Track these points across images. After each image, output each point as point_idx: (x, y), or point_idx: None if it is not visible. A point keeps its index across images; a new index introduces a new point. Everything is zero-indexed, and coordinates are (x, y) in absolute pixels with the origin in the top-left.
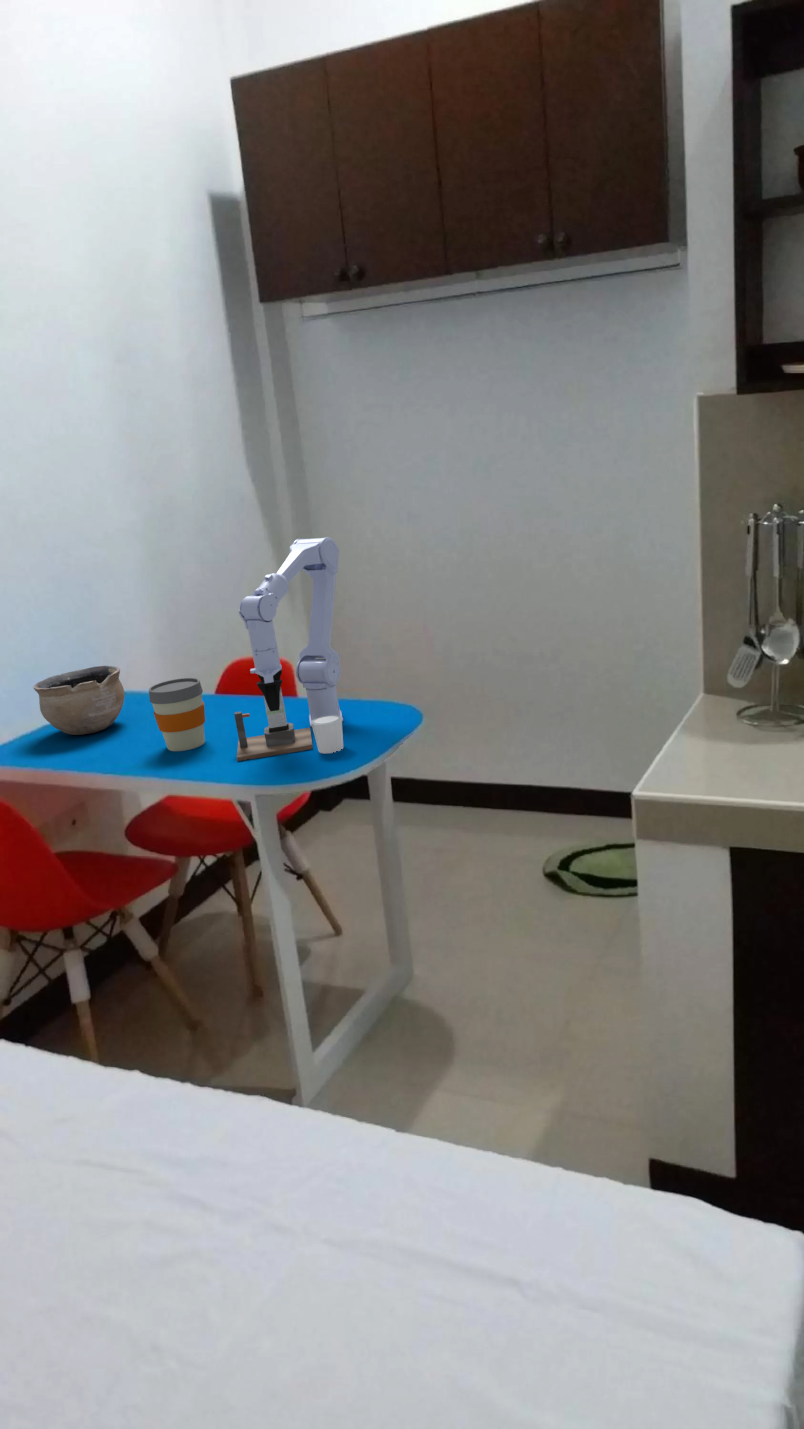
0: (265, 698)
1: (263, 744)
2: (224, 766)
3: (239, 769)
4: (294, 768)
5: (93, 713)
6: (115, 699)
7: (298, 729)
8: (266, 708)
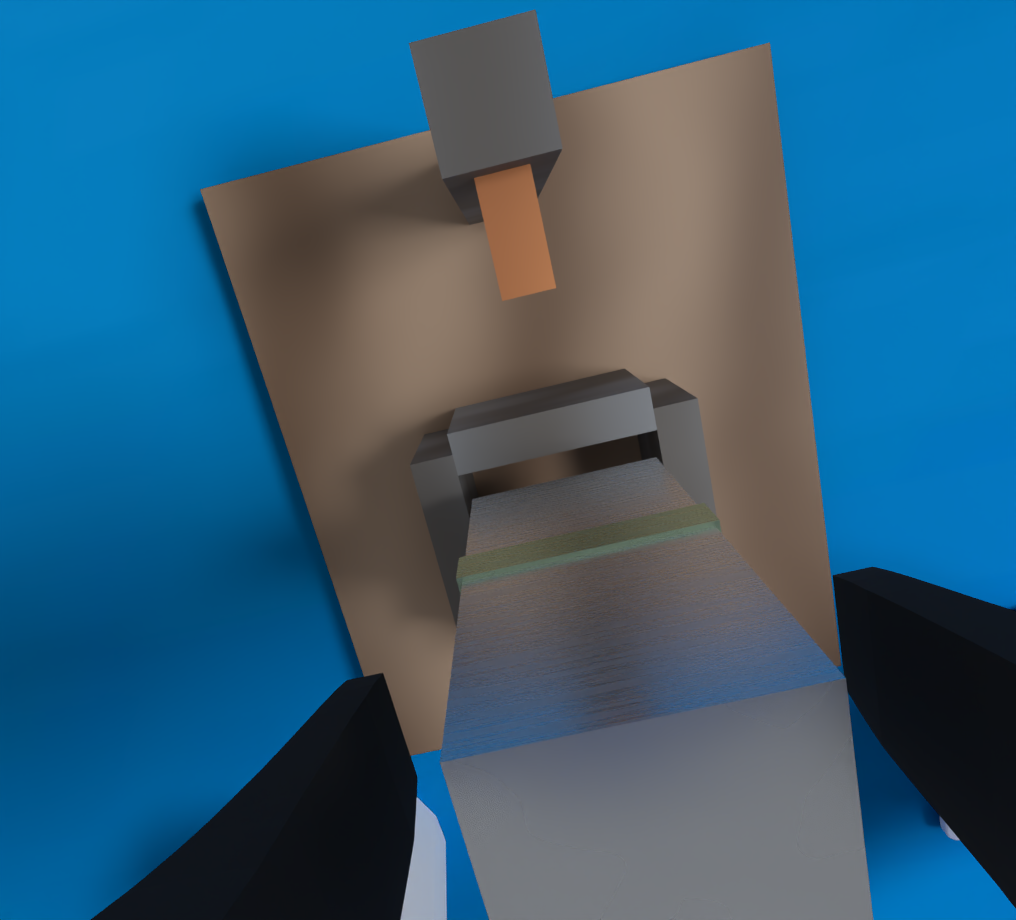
0: (201, 833)
1: (511, 366)
2: (103, 95)
3: (14, 273)
4: (9, 697)
5: None
6: None
7: (829, 583)
8: (463, 611)
